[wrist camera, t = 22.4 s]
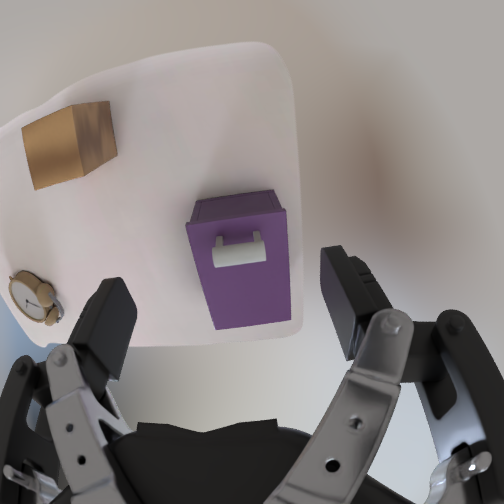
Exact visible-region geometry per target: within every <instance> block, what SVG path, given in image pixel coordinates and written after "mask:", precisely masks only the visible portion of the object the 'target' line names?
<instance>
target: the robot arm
mask: <svg viewBox="0 0 504 504" xmlns="http://www.w3.org/2000/svg"><path fill="white" fill-rule="evenodd" d="M320 262H321V263H320V264H321V265H320V284H321V291H322V294H323V297H324V300H325V303H326V305H327V308H328V311H329V313H330V316H331V319H332V321H333V324H334V327H335V330H336V333H337V335H338V338H339V341H340V344H341V347H342V349H343V352H344V355H345V358H346V361H349V360H354V359H355V360H354V362H353V364H352V366H351V368H350V370H348V371H347V372H346V374H345V376H344V378H343V380H342V382H341V384H340V386H339V388H338V390H337V392H336V394H335V396H334V398H333V400H332V402H331V403H330V405H329V407H328V409H327V411H326V413H325V415H324V416H323V418H322V420H321V422H320V423H319V425H318V427H317V429H316V430H315V432H314V433H313V435H310V434H308V433H305V432H303V431H300V430H297V429H293V428H287V427H279V426H278V424H277V419H270V420H261V421H252V422H241V423H236V424H234V425H230V426H227V427H223V428H219V429H215V430H212V431H208V432H204V433H203V432H196V431H192V430H188V429H184V428H180V427H177V426H173V425H170V424H157V423H142V422H138V424H137V431H134V432H133V431H132V430H131V429H130V428H129V427H128V425H127V424H126V422H125V421H124V419H123V417H122V415H121V413H120V411H119V409H118V407H117V405H116V403H115V401H114V399H113V396H112V394H111V392H110V390H109V389H108V387H107V386H106V385H107V381H119V377H120V374H121V370H122V366H123V363H124V359H125V356H126V352H127V349H128V345H129V342H130V339H131V335H132V332H133V329H134V326H135V323H136V320H137V308H136V305H135V303H134V301H133V299H132V297H131V295H130V293H129V291H128V289H127V287H126V285H125V283H124V281H123V279H122V278H121V277H115V278H108V279H104V280H103V281H102V282H101V284H100V286H99V288H98V290H97V292H95V293H94V294H93V295H92V296H91V297H90V299H89V300H88V301H87V303H86V305H85V307H84V309H83V311H82V313H81V315H80V319H78V321H77V323H76V325H75V327H74V329H73V331H72V333H71V335H70V338H69V340H68V342H67V344H61V345H59V346H57V347H55V348H54V349H53V350H52V351H51V352H50V354H49V355H48V357H47V360H46V361H43V362H40V363H35V361H34V360H33V359H32V358H31V357H30V356H28V355H24V356H21V357H20V358H18V359H17V360H16V361H15V363H14V364H13V366H12V368H11V371H10V373H9V375H8V378H7V381H6V383H5V386H4V389H3V391H2V394H1V397H0V504H415V503H413V502H411V501H410V500H408V499H406V498H404V497H403V496H401V495H399V494H398V493H396V492H394V491H393V490H391V489H389V488H388V487H386V486H385V485H383V484H381V483H380V482H378V481H377V480H375V479H374V478H372V477H371V476H369V475H368V474H367V472H368V470H369V468H370V466H371V464H372V462H373V460H374V457H375V456H376V453H377V451H378V449H379V447H380V444H381V442H382V440H383V437H384V435H385V433H386V430H387V428H388V425H389V422H390V420H391V417H392V415H393V412H394V409H395V406H396V403H397V400H398V397H399V394H400V390H401V385H400V383H406V382H408V383H411V382H414V383H415V386H416V388H417V391H418V394H419V397H420V400H421V403H422V406H423V408H424V412H425V415H426V417H427V421H428V424H429V427H430V431H431V434H432V437H433V441H434V444H435V448H436V451H437V455H438V459H439V464H438V465H437V467H436V468H435V469H434V471H433V473H432V475H431V478H430V493H429V496H428V498H427V500H426V502H425V503H424V504H504V380H503V377H502V375H501V373H500V371H499V370H498V367H497V366H496V363H495V362H494V360H493V358H492V356H491V354H490V353H489V350H488V349H487V347H486V345H485V343H484V342H483V340H482V338H481V336H480V335H479V333H478V331H477V330H476V328H475V326H474V325H473V323H472V322H471V320H470V319H469V317H467V315H465V314H464V313H462V312H460V311H457V310H445V311H443V312H442V313H441V314H440V315H439V316H438V318H437V321H436V322H417V321H412V320H411V318H410V317H409V316H408V315H407V314H406V313H404V312H402V311H400V310H397V309H394V308H393V307H392V305H391V303H390V302H389V300H388V298H387V297H386V295H385V293H384V292H383V290H382V289H381V287H380V285H379V284H378V282H377V281H376V279H375V278H374V276H373V274H371V271H370V269H369V268H368V266H367V265H366V263H365V262H363V261H362V260H360V259H359V258H358V257H356V256H352V257H348V256H347V254H346V252H345V251H344V249H343V248H342V246H341V245H338V246H332V247H325V248H321V261H320ZM32 399H34V400H35V401H36V402H37V403H38V404H39V405H41V409H40V412H39V416H38V420H37V424H36V429H35V432H34V431H32V430H31V429H30V428H29V427H28V425H27V422H26V417H27V413H28V409H29V406H30V403H31V400H32ZM60 462H61V465H62V468H63V470H64V473H65V476H66V478H67V481H68V483H69V485H68V486H67V487H66V488H65V489H64V490H63V491H62V490H60V489H58V487H57V485H58V476H59V467H60Z"/></svg>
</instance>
